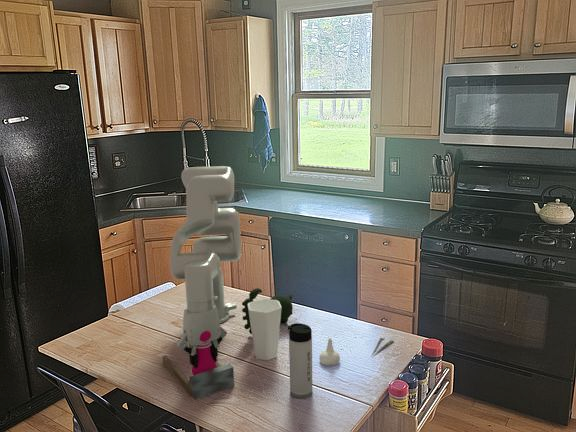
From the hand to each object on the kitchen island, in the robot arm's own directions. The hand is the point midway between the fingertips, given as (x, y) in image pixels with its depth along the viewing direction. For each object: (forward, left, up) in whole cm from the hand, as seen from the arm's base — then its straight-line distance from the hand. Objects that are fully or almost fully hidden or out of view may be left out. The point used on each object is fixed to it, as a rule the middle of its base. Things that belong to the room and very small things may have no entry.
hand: (204, 362), depth 147 cm
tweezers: (-54, +14, -7) cm, 56 cm away
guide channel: (0, -6, -7) cm, 9 cm away
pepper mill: (0, 0, -7) cm, 7 cm away
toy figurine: (-34, -19, -7) cm, 39 cm away
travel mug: (-20, +20, -7) cm, 29 cm away
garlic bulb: (-37, +11, -7) cm, 39 cm away
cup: (-23, -4, -7) cm, 24 cm away
